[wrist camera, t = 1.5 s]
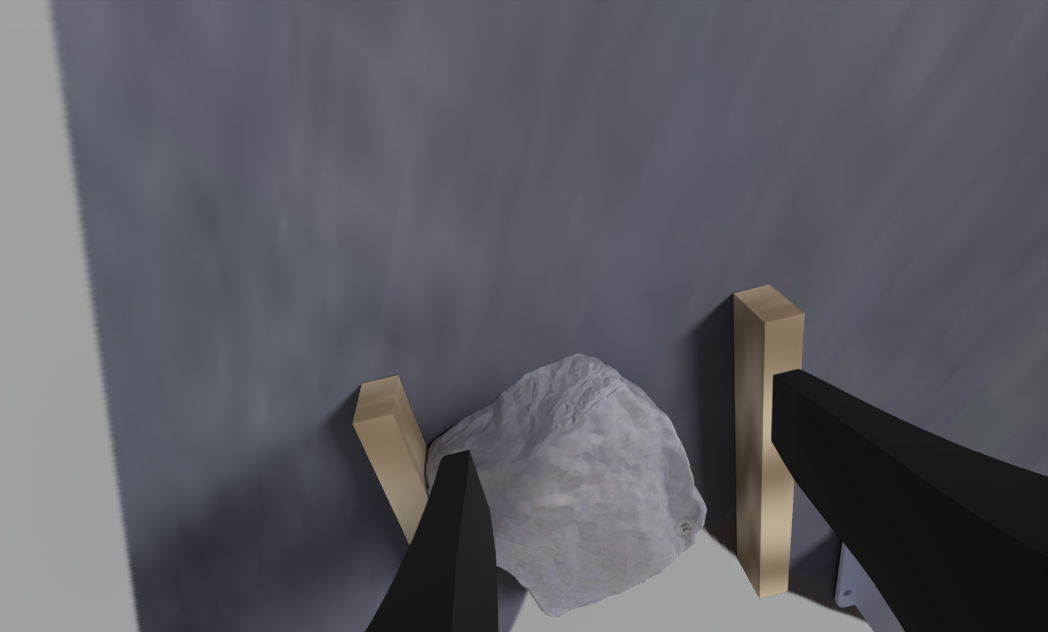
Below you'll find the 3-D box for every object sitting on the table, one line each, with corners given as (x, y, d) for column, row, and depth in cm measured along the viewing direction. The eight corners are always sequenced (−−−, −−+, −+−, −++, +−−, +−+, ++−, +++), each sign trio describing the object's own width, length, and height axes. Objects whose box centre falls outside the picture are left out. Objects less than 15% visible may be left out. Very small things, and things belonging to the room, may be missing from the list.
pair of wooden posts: (762, 550, 30) (787, 591, 28) (467, 624, 30) (469, 671, 28) (769, 284, 22) (804, 313, 20) (361, 383, 22) (352, 423, 20)
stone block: (579, 308, 24) (401, 450, 24) (632, 357, 20) (416, 529, 20) (685, 459, 30) (542, 573, 30) (743, 521, 26) (577, 654, 25)
